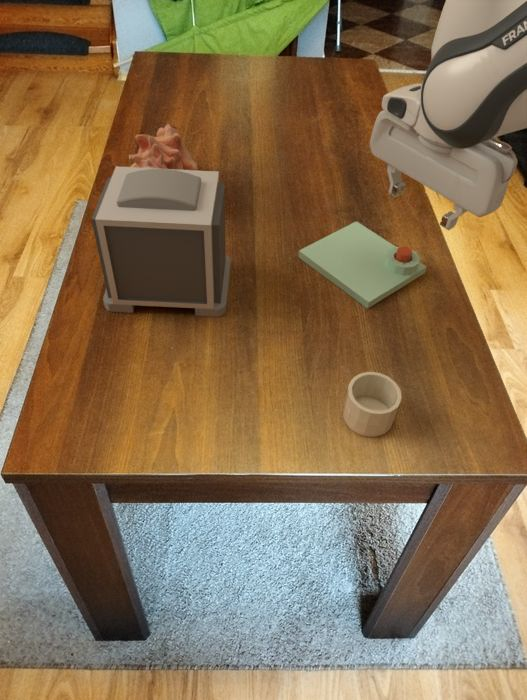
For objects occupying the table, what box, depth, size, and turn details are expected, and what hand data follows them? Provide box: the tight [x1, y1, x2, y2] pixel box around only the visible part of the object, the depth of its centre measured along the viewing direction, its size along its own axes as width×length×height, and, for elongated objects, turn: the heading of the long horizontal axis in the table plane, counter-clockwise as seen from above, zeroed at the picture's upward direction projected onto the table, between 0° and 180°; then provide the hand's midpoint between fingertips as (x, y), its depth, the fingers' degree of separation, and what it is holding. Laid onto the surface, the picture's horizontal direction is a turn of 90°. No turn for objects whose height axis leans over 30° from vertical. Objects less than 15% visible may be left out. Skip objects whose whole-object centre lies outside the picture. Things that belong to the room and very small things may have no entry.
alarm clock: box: [91, 165, 232, 318], centre depth 84 cm, size 18×13×18 cm
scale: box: [297, 221, 428, 309], centre depth 94 cm, size 16×14×3 cm
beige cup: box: [342, 371, 403, 438], centre depth 73 cm, size 7×7×5 cm
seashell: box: [128, 123, 199, 171], centre depth 103 cm, size 22×13×15 cm
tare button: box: [395, 246, 413, 263], centre depth 92 cm, size 2×2×2 cm
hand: (420, 210), depth 81 cm, fingers open, 8 cm apart
